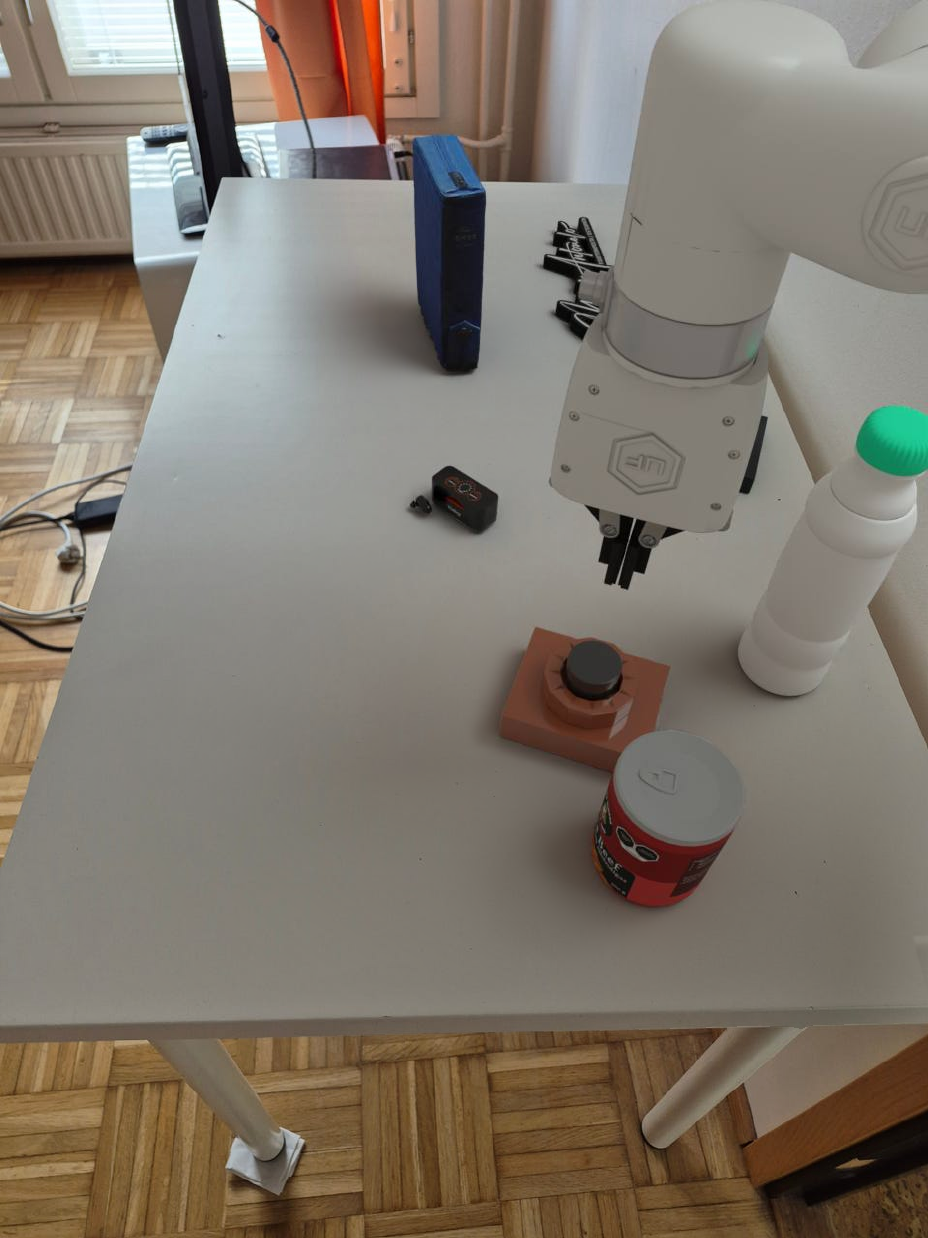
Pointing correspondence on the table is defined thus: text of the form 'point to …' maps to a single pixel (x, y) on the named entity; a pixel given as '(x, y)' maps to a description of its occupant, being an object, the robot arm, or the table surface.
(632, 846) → the canned food
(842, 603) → the water bottle
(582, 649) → the button
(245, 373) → the table surface
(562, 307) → the nameplate
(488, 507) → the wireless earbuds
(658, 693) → the push button box
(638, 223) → the robot arm
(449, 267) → the book
